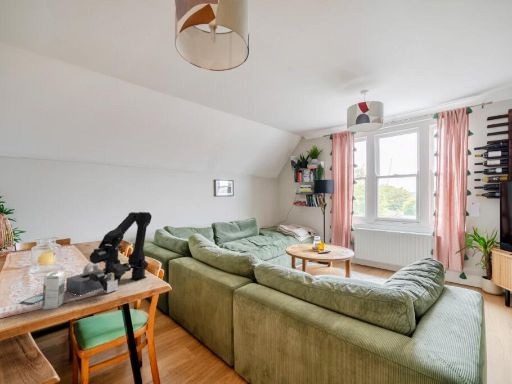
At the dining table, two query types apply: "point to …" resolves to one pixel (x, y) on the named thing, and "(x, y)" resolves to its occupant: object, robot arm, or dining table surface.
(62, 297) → the syrup box
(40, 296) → the smartphone
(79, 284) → the cash box
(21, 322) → the dining table surface
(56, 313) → the dining table surface
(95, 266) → the donut
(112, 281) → the light grey block
